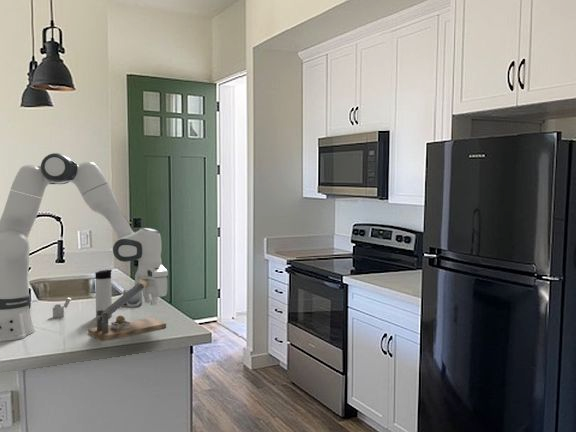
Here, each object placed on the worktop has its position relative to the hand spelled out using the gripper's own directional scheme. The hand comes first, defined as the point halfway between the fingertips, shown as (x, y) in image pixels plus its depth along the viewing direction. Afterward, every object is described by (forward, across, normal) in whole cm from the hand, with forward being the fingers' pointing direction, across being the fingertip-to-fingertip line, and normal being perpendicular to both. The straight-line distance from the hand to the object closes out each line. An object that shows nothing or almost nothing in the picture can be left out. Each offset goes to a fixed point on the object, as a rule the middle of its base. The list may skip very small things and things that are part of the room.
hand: (150, 303), depth 207 cm
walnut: (+4, 0, -12) cm, 13 cm away
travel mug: (+9, -24, -8) cm, 27 cm away
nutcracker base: (+9, 0, -9) cm, 13 cm away
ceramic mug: (+9, -36, +11) cm, 39 cm away
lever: (-2, 0, -10) cm, 10 cm away
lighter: (+9, -36, -22) cm, 43 cm away
